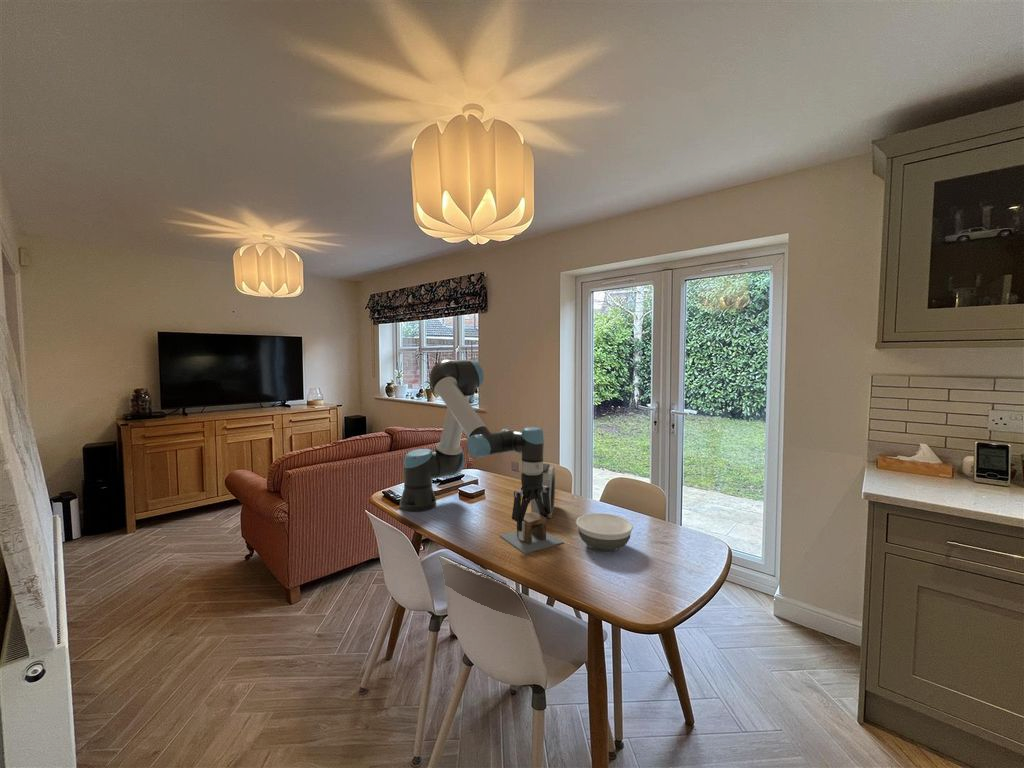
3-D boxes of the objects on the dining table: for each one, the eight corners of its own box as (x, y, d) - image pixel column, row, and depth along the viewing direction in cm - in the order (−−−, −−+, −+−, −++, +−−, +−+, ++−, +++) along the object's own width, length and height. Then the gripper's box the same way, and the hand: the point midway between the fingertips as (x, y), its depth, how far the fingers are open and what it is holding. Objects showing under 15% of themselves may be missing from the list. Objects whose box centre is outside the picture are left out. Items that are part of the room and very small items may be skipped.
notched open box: (528, 543, 143) (528, 522, 143) (516, 536, 149) (517, 515, 149) (546, 539, 147) (546, 517, 147) (534, 532, 153) (534, 511, 153)
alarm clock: (549, 522, 165) (550, 471, 164) (530, 520, 166) (531, 470, 165) (555, 503, 186) (555, 459, 184) (538, 502, 187) (538, 458, 186)
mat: (499, 536, 151) (499, 535, 151) (536, 527, 159) (536, 526, 159) (524, 554, 137) (524, 552, 137) (563, 543, 146) (563, 542, 146)
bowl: (622, 565, 131) (623, 539, 130) (566, 550, 141) (567, 525, 140) (639, 543, 147) (639, 520, 146) (588, 531, 156) (588, 509, 156)
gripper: (513, 479, 138) (512, 547, 140) (562, 471, 149) (561, 534, 151) (501, 473, 145) (500, 539, 146) (549, 466, 156) (548, 527, 157)
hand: (531, 537), depth 148 cm, fingers closed on notched open box, 7 cm apart
